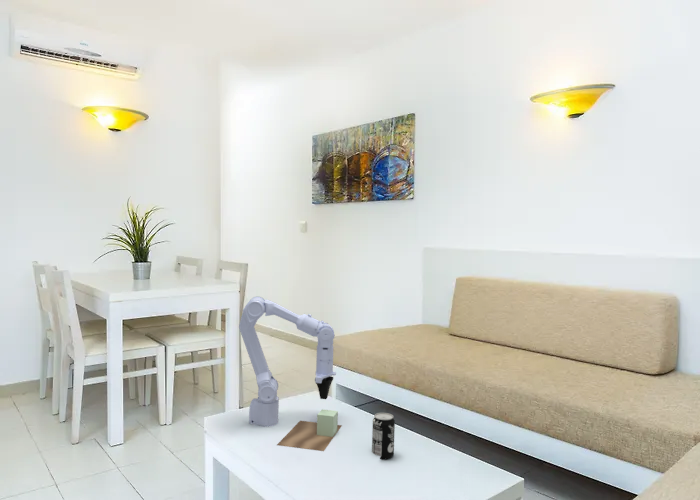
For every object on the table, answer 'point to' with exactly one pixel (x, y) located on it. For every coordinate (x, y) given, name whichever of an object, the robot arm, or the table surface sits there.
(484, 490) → the table surface
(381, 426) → the beverage can
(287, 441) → the board
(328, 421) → the green slotted cube
